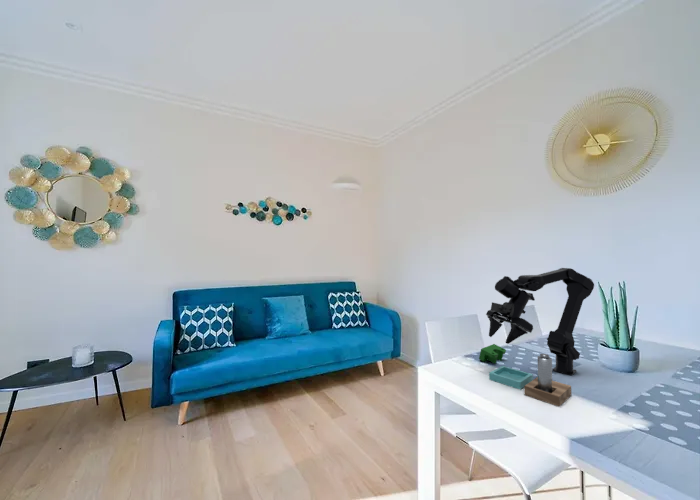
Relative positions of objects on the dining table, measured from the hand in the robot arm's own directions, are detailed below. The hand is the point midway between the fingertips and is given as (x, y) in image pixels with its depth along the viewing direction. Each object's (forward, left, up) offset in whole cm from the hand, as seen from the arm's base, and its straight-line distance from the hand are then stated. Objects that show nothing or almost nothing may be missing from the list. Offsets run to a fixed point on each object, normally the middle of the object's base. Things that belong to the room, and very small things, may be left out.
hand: (497, 339), depth 114 cm
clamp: (-17, -11, -15) cm, 25 cm away
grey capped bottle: (+3, +17, -15) cm, 22 cm away
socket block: (0, +17, -15) cm, 22 cm away
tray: (-2, +4, -15) cm, 15 cm away
